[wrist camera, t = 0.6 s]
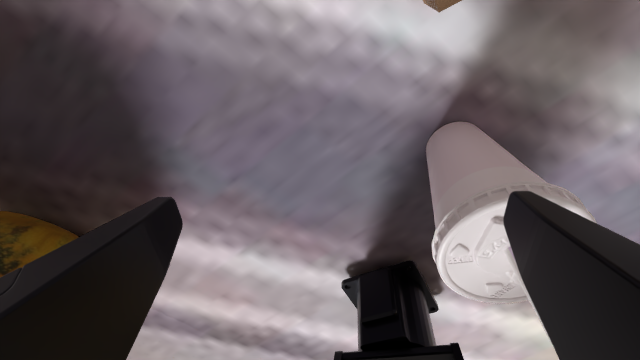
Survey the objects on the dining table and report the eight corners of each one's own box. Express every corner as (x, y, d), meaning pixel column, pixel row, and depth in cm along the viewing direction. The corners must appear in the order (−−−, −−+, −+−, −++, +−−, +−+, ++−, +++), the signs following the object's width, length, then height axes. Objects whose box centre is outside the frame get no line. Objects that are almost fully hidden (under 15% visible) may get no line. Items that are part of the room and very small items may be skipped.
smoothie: (484, 79, 20) (680, 259, 8) (522, 159, 22) (712, 383, 11) (386, 136, 22) (428, 338, 10) (431, 202, 25) (505, 422, 13)
